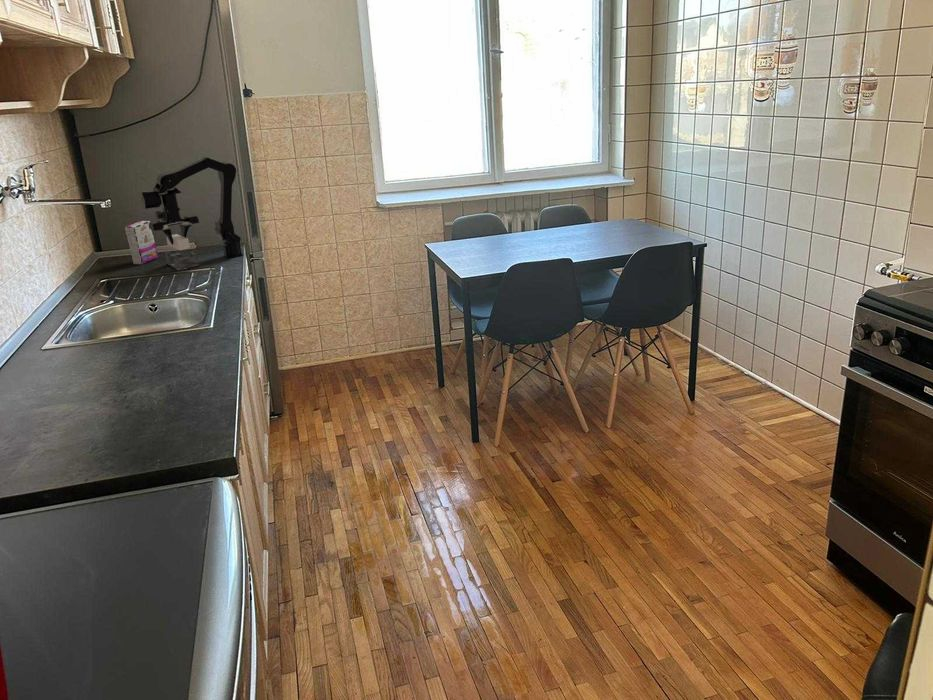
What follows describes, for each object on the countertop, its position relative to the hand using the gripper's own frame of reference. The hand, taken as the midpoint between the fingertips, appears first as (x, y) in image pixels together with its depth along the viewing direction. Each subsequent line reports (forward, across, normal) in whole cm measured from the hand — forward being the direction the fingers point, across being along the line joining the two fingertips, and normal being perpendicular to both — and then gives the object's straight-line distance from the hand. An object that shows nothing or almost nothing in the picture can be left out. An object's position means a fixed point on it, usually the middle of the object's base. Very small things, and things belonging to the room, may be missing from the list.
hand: (178, 243), depth 293 cm
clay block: (+2, 0, 0) cm, 2 cm away
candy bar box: (+10, +8, -20) cm, 24 cm away
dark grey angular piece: (+10, 0, 0) cm, 10 cm away
